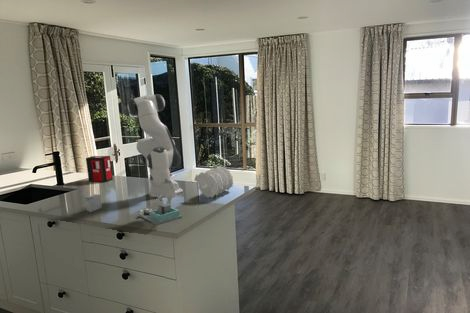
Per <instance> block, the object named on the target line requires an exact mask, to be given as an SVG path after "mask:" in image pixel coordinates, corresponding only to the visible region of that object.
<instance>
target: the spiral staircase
mask: <svg viewBox="0 0 470 313" xmlns="http://www.w3.org/2000/svg"><path fill="white" fill-rule="evenodd" d="M233 178H234V177H233V174H232V173H231V171H230V169H227V168H225V166H221V167H220V166H219V165H218V166H216V167H214V168H213V167H211V168H210V169H209V170H208V169H207V171H205V172H204V171H202V172H200V173H198V174H195V177H194V181H196V183H198V189H199V191H200V192H201V195H203V196H205V197H206V199H207V198H212V199H213V198H214V197H215V195H216V196H218V195H219V194H222V192H223V193H225V191H226V190H227V191H229V189H231V188H233V186H234V185H233V184H234V180H233Z"/></svg>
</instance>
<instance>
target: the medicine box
mask: <svg viewBox="0 0 470 313" xmlns="http://www.w3.org/2000/svg"><path fill="white" fill-rule="evenodd" d="M84 200H85V208H86V212H89V213H92V212H95V211H97V210H100V209H103V207H102V199H101V194H96V193H95V194H92V195H88V196H86V197H84Z"/></svg>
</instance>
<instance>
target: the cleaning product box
mask: <svg viewBox="0 0 470 313" xmlns="http://www.w3.org/2000/svg"><path fill="white" fill-rule="evenodd" d="M111 160H112V159H111V156H110V155H94V156H93V155H92V156H88V157H86V158H85V161H86V169H87V178H88V183H108V182H110V181H113V178H114V177H113V170H112V169H113V168H112V161H111Z"/></svg>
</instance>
